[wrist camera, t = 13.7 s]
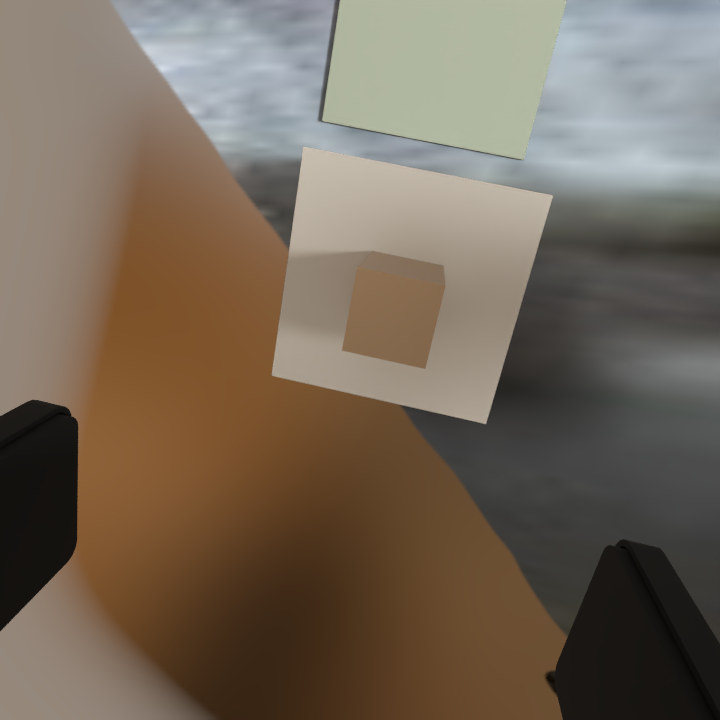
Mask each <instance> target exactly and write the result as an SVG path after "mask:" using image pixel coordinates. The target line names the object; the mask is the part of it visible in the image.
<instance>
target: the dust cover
mask: <svg viewBox="0 0 720 720" xmlns="http://www.w3.org/2000/svg"><path fill="white" fill-rule="evenodd" d="M552 198H553V195H548V194H543V193H538V192H532V191H527V190H522V189H517V188H512V187H507V186H502V185H497V184H492V183H487V182H481V181H476V180H471V179H466V178H461V177H456V176H451V175H446V174H441V173H436V172H430V171H425V170H420V169H415V168H410V167H405V166H400V165H395V164H390V163H385V162H379V161H374V160H369V159H364V158H359V157H354V156H349V155H344V154H339V153H334V152H328V151H323V150H318V149H313V148H308V147H303V155H302V162H301V169H300V176H299V183H298V190H297V197H296V205H295V212H294V219H293V226H292V233H291V240H290V247H289V255H288V262H287V270H286V276H285V283H284V290H283V298H282V306H281V312H280V319H279V326H278V333H277V341H276V348H275V355H274V362H273V369H272V376H275V377H280V378H284V379H289V380H293V381H297V382H302V383H307V384H311V385H315V386H320V387H325V388H328V389H333V390H337V391H342V392H346V393H351V394H355V395H360V396H364V397H369V398H373V399H377V400H382V401H386V402H391V403H395V404H399V405H404V406H408V407H413V408H417V409H422V410H426V411H430V412H435V413H439V414H444V415H448V416H453V417H457V418H461V419H466V420H470V421H475V422H479V423H484V424H486V422H487V419H488V415H489V412H490V409H491V405H492V402H493V398H494V395H495V392H496V388H497V385H498V381H499V378H500V375H501V371H502V368H503V364H504V361H505V358H506V354H507V351H508V347H509V344H510V341H511V337H512V334H513V330H514V327H515V324H516V320H517V317H518V313H519V310H520V307H521V303H522V300H523V296H524V293H525V290H526V286H527V283H528V279H529V276H530V273H531V269H532V266H533V262H534V259H535V255H536V252H537V249H538V245H539V242H540V238H541V235H542V232H543V228H544V225H545V221H546V218H547V215H548V211H549V208H550V204H551V201H552Z"/></svg>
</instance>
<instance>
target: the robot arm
mask: <svg viewBox="0 0 720 720" xmlns="http://www.w3.org/2000/svg"><path fill="white" fill-rule="evenodd" d="M77 480H78V422H77V420H76V419H75V418H74V417H71V413H70V411H69V409H68V408H66V407H64V406H60V405H55V404H51V403H47V402H43V401H39V400H31V401H28V402H26V403H24V404H22V405H20V406H19V407H17V408H15V409H13V410H11V411H9V412H7V413H6V414H4V415H2V416H0V631H1V630H2V629H3V628H4V627H5V626H6V625H7V624H8V623H9V622H10V621H11V619H13V618H14V617H15V615H17V614H18V613H19V611H20V610H21V609H22V608H23V607H24V606H25V605H26V604H27V603H28V602H29V601H30V600H31V599H32V598H33V597H34V596H35V595H36V594H37V593H38V592H39V591H40V590H41V589H42V588H43V587H44V586H45V585H46V584H47V583H48V582H49V581H50V580H51V579H52V578H53V577H54V576H55V574H56V573H57V572H58V571H59V570H60V569H61V568H62V567H63V566H64V565H65V564H66V563H67V562H68V561H69V559H70V558H71V556H72V555H73V552H74V550H75V547H76V543H77V487H78V485H77V484H78V481H77ZM555 687H556V692H557V696H558V700H559V704H560V708H561V713H562V717H563V720H720V644H719V642H718V640H717V639H716V637H715V636H714V634H713V632H712V631H711V629H710V627H709V626H708V624H707V622H706V621H705V619H704V618H703V616H702V614H701V613H700V611H699V609H698V608H697V606H696V605H695V603H694V601H693V600H692V598H691V596H690V595H689V593H688V591H687V590H686V588H685V587H684V585H683V583H682V582H681V580H680V578H679V577H678V575H677V573H676V572H675V570H674V569H673V567H672V565H671V564H670V562H669V560H668V559H667V557H666V556H665V554H664V552H663V551H662V550H661V549H660V548H657V547H654V546H649V545H645V544H641V543H637V542H632V541H628V540H624V539H623V540H620V541H619V542H618V543H617V544H616V546H611V545H609V546H607V547H606V548H605V549H604V551H603V553H602V556H601V558H600V560H599V563H598V565H597V568H596V570H595V572H594V575H593V577H592V580H591V582H590V585H589V587H588V589H587V592H586V594H585V597H584V599H583V602H582V604H581V606H580V609H579V611H578V614H577V616H576V619H575V621H574V623H573V626H572V628H571V631H570V633H569V636H568V638H567V640H566V643H565V645H564V648H563V650H562V653H561V655H560V657H559V660H558V663H557V666H556V671H555Z"/></svg>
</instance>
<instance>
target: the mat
mask: <svg viewBox="0 0 720 720" xmlns="http://www.w3.org/2000/svg"><path fill="white" fill-rule="evenodd" d="M566 1H567V0H340V4H339V11H338V17H337V24H336V31H335V37H334V44H333V51H332V58H331V64H330V71H329V78H328V85H327V91H326V98H325V105H324V111H323V118H322V121H323V122H329V123H334V124H339V125H344V126H349V127H355V128H360V129H365V130H370V131H375V132H381V133H386V134H391V135H396V136H401V137H406V138H412V139H417V140H422V141H427V142H432V143H438V144H443V145H448V146H453V147H458V148H464V149H469V150H474V151H479V152H484V153H489V154H495V155H500V156H505V157H510V158H515V159H521V160H524V157H525V153H526V149H527V146H528V142H529V138H530V134H531V131H532V127H533V123H534V120H535V116H536V112H537V109H538V105H539V101H540V97H541V94H542V90H543V86H544V83H545V79H546V75H547V72H548V68H549V64H550V61H551V57H552V53H553V49H554V46H555V42H556V38H557V35H558V31H559V27H560V24H561V20H562V16H563V12H564V9H565V5H566Z"/></svg>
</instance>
